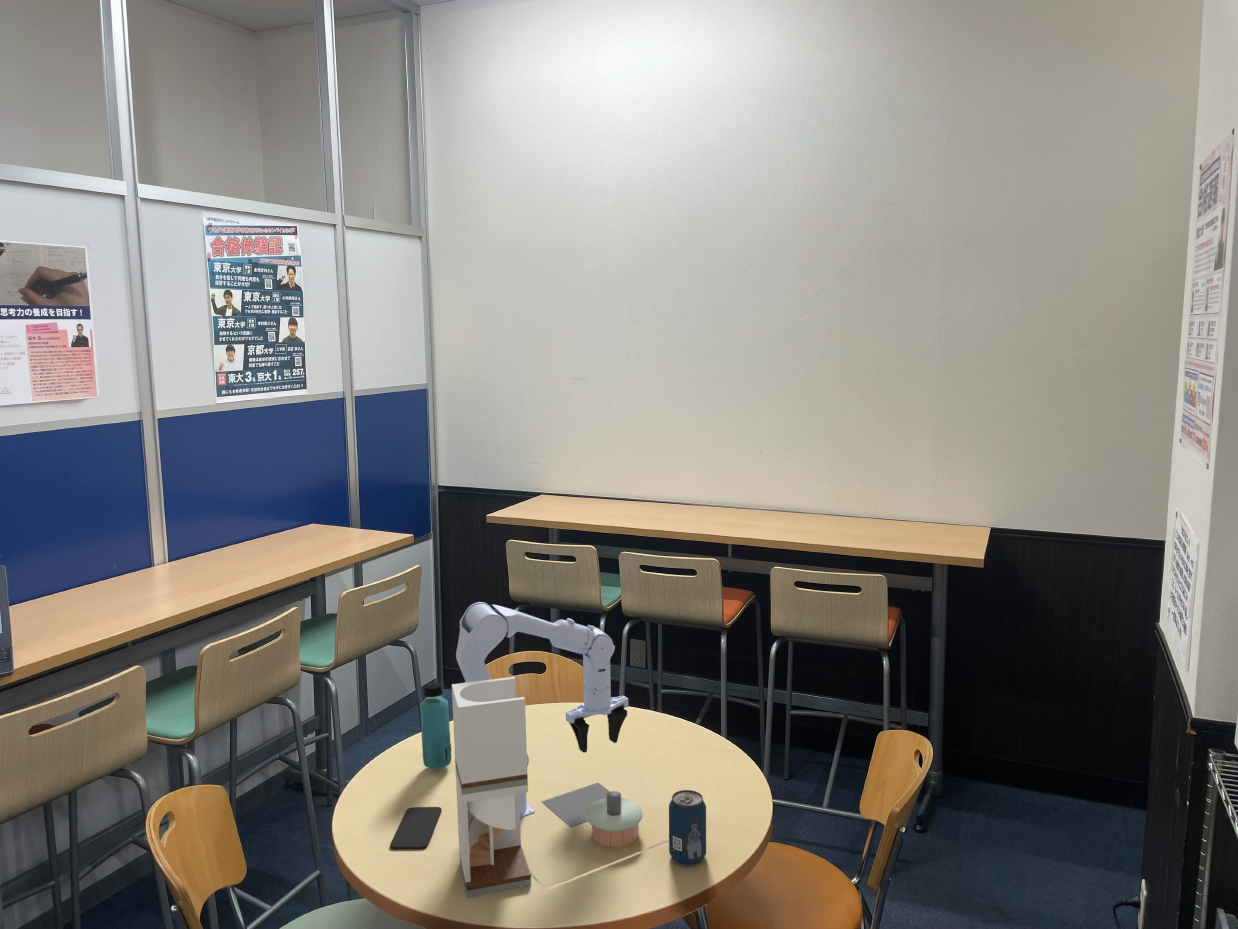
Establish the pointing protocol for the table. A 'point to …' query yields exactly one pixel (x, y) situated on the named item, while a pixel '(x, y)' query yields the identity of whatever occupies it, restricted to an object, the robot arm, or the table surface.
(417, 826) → the phone
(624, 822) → the lid
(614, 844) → the bowl
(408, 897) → the table surface
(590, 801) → the mat
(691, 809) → the soda can
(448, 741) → the beverage bottle
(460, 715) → the coffee maker
